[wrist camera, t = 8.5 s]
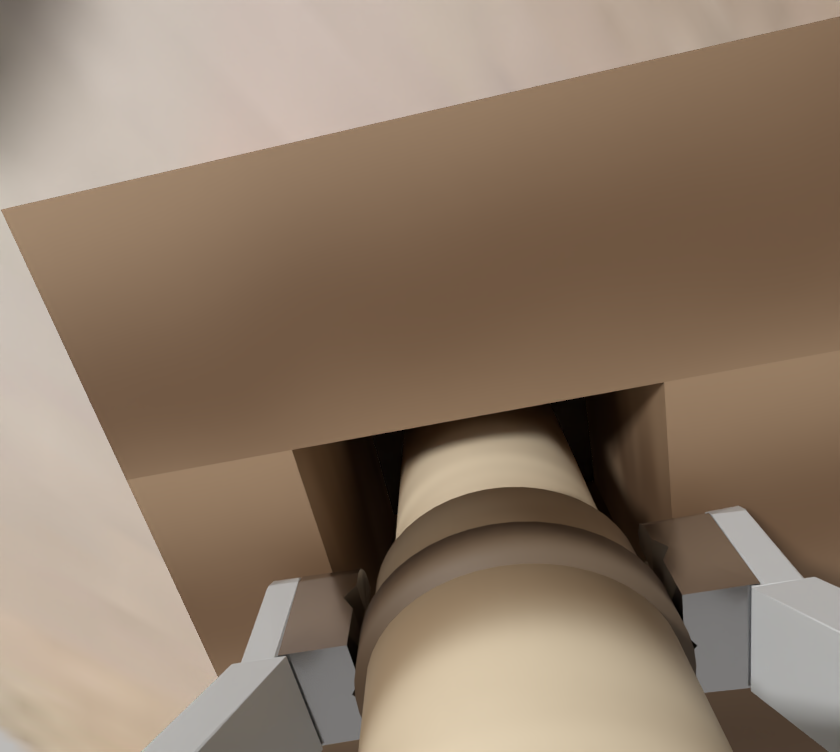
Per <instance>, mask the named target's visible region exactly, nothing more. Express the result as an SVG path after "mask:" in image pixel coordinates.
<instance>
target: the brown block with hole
mask: <svg viewBox="0 0 840 752" xmlns="http://www.w3.org/2000/svg"><path fill="white" fill-rule="evenodd" d="M1 211H2V213H3V215H4V217H5V219H6V222H7V224H8V226H9V228H10V230H11V232H12V234H13V237H14V239H15V241H16V243H17V245H18V247H19V250H20V252H21V254H22V256H23V258H24V260H25V262H26V265H27V267H28V269H29V271H30V273H31V275H32V277H33V280H34V282H35V284H36V286H37V288H38V290H39V293H40V295H41V297H42V299H43V301H44V303H45V305H46V308H47V310H48V312H49V314H50V316H51V318H52V321H53V323H54V325H55V327H56V329H57V331H58V333H59V336H60V338H61V340H62V342H63V344H64V346H65V349H66V351H67V353H68V355H69V357H70V359H71V361H72V364H73V366H74V368H75V370H76V372H77V374H78V377H79V379H80V381H81V383H82V385H83V387H84V389H85V392H86V394H87V396H88V398H89V400H90V402H91V404H92V407H93V409H94V411H95V413H96V415H97V417H98V420H99V422H100V424H101V426H102V428H103V430H104V432H105V435H106V437H107V439H108V441H109V443H110V445H111V448H112V450H113V452H114V454H115V456H116V458H117V460H118V463H119V465H120V467H121V469H122V471H123V473H124V476H125V478H126V480H127V482H128V484H129V486H130V488H131V491H132V493H133V495H134V497H135V499H136V501H137V504H138V506H139V508H140V510H141V512H142V514H143V516H144V519H145V521H146V523H147V525H148V527H149V529H150V531H151V534H152V536H153V538H154V540H155V542H156V544H157V547H158V549H159V551H160V553H161V555H162V557H163V559H164V562H165V564H166V566H167V568H168V570H169V572H170V575H171V577H172V579H173V581H174V583H175V585H176V587H177V590H178V592H179V594H180V596H181V598H182V600H183V603H184V605H185V607H186V609H187V611H188V613H189V615H190V618H191V620H192V622H193V624H194V626H195V628H196V631H197V633H198V635H199V637H200V639H201V641H202V643H203V646H204V648H205V650H206V652H207V654H208V656H209V658H210V661H211V663H212V665H213V667H214V669H215V671H216V674H217V676H218V677H219V676H220V675H221V674H222V673H223V672H224V671H225V670H226V669H227V668H228V667H229V666H230V665H231V664H235V663H241V661H242V658H243V655H244V653H245V650H246V647H247V644H248V641H249V638H250V636H251V633H252V630H253V627H254V624H255V621H256V619H257V616H258V613H259V610H260V607H261V604H262V602H263V599H264V596H265V593H266V590H267V588H268V586H269V585H270V584H271V583H272V582H273V581H279V580H285V579H292V578H302V577H304V576H311V575H318V574H325V573H333V572H340V571H347V570H354V569H362V570H364V571H365V573H366V575H367V578H368V581H369V584H370V587H371V590H370V599H369V603H370V602H371V600H372V598H373V596H374V595H375V593H376V584H377V578H378V574H379V571H380V567H381V565H382V563H383V560H384V558H385V556H386V554H387V552H388V551H389V549H390V548H391V546H392V545H393V543H394V542H395V540H396V529H397V515H398V514H395V515H394V513H393V509H392V506H391V502H390V498H389V495H388V491H387V487H386V484H385V480H384V476H383V472H382V469H381V465H380V461H379V458H378V454H377V450H376V447H375V443H374V439H373V436H372V435H377V434H382V433H388V432H393V431H399V430H404V429H410V428H415V427H421V426H426V425H432V424H437V423H443V422H448V421H454V420H459V419H465V418H470V417H476V416H481V415H487V414H492V413H498V412H503V411H509V410H514V409H520V408H525V407H531V406H536V405H542V404H547V403H553V402H558V401H564V400H569V399H575V398H580V397H585V404H586V413H587V421H588V430H589V439H590V447H591V456H592V465H593V473H594V481H590V482H585V483H586V485H587V487H588V489H589V492H590V494H591V496H592V498H593V501H594V503H595V505H596V507H597V510H598V511H600V512H601V513H603V514H604V515H606V516H607V517H608V518H609V519H610V520H611V521H612V522H613V523H615V524H616V525H617V526H618V527H619V528H620V530H621V531H622V532H623V533H624V535H625V536H626V537H627V538H628V540H629V542H630V544H631V545H632V547H633V549H634V551H635V553H636V555H637V556H638V557H639V558H640V559H641V560H642V561H643V562H644V563H645V562H646V558H645V556H644V554H643V552H642V550H641V548H640V546H639V536H638V529H639V524H642V523H648V522H654V521H660V520H666V519H672V518H678V517H684V516H690V515H696V514H702V513H705V512H708V511H713V510H718V509H724V508H729V507H735V506H740V507H742V508H744V509H746V510H747V512H748V513H749V514H750V515H751V516H752V517H753V519H754V520H755V521H756V522H757V523H758V525H759V526H760V527H761V528H762V529H763V530H764V532H765V533H766V534H767V535H768V536H769V538H770V539H771V540H772V541H773V542H774V543H775V545H776V546H777V547H778V548H779V549H780V550H781V552H782V553H783V554H784V555H785V556H786V558H787V559H788V560H789V561H790V562H791V563H792V565H793V566H794V567H795V568H796V569H797V571H798V572H799V573H800V574H801V575H802V576H803V578H810V577H817V578H819V579H821V580H823V581H825V582H828V583H830V584H832V585H834V586H837V587H839V588H840V17H836V18H832V19H827V20H823V21H819V22H814V23H810V24H805V25H801V26H797V27H792V28H788V29H784V30H779V31H775V32H771V33H766V34H762V35H758V36H753V37H749V38H745V39H740V40H736V41H732V42H727V43H723V44H719V45H714V46H710V47H706V48H701V49H697V50H693V51H688V52H684V53H680V54H675V55H671V56H667V57H662V58H658V59H654V60H649V61H645V62H641V63H636V64H632V65H628V66H623V67H619V68H614V69H610V70H606V71H601V72H597V73H593V74H588V75H584V76H580V77H575V78H571V79H567V80H562V81H558V82H554V83H549V84H545V85H541V86H536V87H532V88H528V89H523V90H519V91H515V92H510V93H506V94H502V95H497V96H493V97H489V98H484V99H480V100H476V101H471V102H467V103H463V104H458V105H454V106H450V107H445V108H441V109H437V110H432V111H428V112H423V113H419V114H415V115H410V116H406V117H402V118H397V119H393V120H389V121H384V122H380V123H376V124H371V125H367V126H363V127H358V128H354V129H350V130H345V131H341V132H337V133H332V134H328V135H324V136H319V137H315V138H311V139H306V140H302V141H298V142H293V143H289V144H285V145H280V146H276V147H272V148H267V149H263V150H259V151H254V152H250V153H246V154H241V155H237V156H232V157H228V158H224V159H219V160H215V161H211V162H206V163H202V164H198V165H193V166H189V167H185V168H180V169H176V170H172V171H167V172H163V173H159V174H154V175H150V176H146V177H141V178H137V179H133V180H128V181H124V182H120V183H115V184H111V185H107V186H102V187H98V188H94V189H89V190H85V191H81V192H76V193H72V194H68V195H63V196H59V197H55V198H50V199H46V200H41V201H37V202H33V203H28V204H24V205H20V206H15V207H11V208H7V209H2V210H1ZM705 695H706V697H707V699H708V701H709V703H710V706H711V708H712V710H713V712H714V714H715V716H716V718H717V720H718V722H719V724H720V726H721V728H722V730H723V732H724V734H725V736H726V738H727V740H728V742H729V744H730V746H731V748H732V750H733V752H828V751H827V750H826V749H825V748H823V747H822V746H821V745H819V744H818V743H817V742H816V741H814V740H813V739H812V738H810V737H809V736H808V735H807V734H805V733H804V732H803V731H801V730H800V729H799V728H798V727H796V726H795V725H794V724H792V723H791V722H790V721H789V720H787V719H786V718H785V717H784V716H782V715H781V714H780V713H778V712H777V711H776V710H775V709H773V708H772V707H771V706H769V705H768V704H767V703H766V702H764V701H763V700H762V699H760V698H759V697H758V696H757V695H755V694H754V693H753V692H751V688H745V689H735V690H726V691H716V692H707V693H705ZM359 740H360V739H359ZM359 740H353V741H347V742H341V743H335V744H329V745H323V746H322V747H323V750H322V752H358V749H359Z"/></svg>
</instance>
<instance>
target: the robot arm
mask: <svg viewBox="0 0 840 752" xmlns="http://www.w3.org/2000/svg"><path fill="white" fill-rule="evenodd" d="M638 536H639V546H640V548H641V550H642V552H643V554H644V556H645V558H646V562H645V564H646V565H648V566H649V567H650V568H651V569H652V571H653V572H654V573H655V574H656V576H657V577H658V578H659V579H660V581H661V582H662V583H663V585H664V587H665V589H666V590H667V592H668V594H669V596H670V598H671V600H672V602H673V604H674V605H675V607H676V609H677V611H678V613H679V615H680V617H681V619H682V621H683V623H684V625H685V627H686V629H687V631H688V632H689V635H690V638H691V641H692V644H693V647H694V651H695V659H696V677H697V679H698V681H699V683H700V685H701V687H702V689H703V691H704V693H707V692H716V691H726V690H735V689H745V688H751V692H753V693H754V694H755V695H757V696H758V697H759V698H760V699H762V700H763V701H764V702H766V703H767V704H768V705H769V706H771V707H772V708H773V709H775V710H776V711H777V712H778V713H780V714H781V715H782V716H784V717H785V718H786V719H787V720H789V721H790V722H791V723H792V724H794V725H795V726H796V727H798V728H799V729H800V730H801V731H803V732H804V733H805V734H807V735H808V736H809V737H810V738H812V739H813V740H814V741H816V742H817V743H818V744H819V745H821V746H822V747H823V748H825V749H826V750H827V751H828V752H840V588H839V587H837V586H834V585H832V584H830V583H828V582H825V581H823V580H821V579H819V578H817V577H810V578H803V576H802V575H801V574H800V573H799V572H798V571H797V569H796V568H795V567H794V566H793V565H792V563H791V562H790V561H789V560H788V559H787V558H786V556H785V555H784V554H783V553H782V552H781V550H780V549H779V548H778V547H777V546H776V545H775V543H774V542H773V541H772V540H771V539H770V538H769V536H768V535H767V534H766V533H765V532H764V530H763V529H762V528H761V527H760V526H759V525H758V523H757V522H756V521H755V520H754V519H753V517H752V516H751V515H750V514H749V513H748V512H747V510H746V509H744V508H742V507H740V506H735V507H729V508H724V509H718V510H713V511H708V512H705V513H702V514H696V515H690V516H684V517H678V518H672V519H666V520H660V521H654V522H648V523H642V524H639V529H638ZM370 590H371V587H370V584H369V581H368V578H367V575H366V573H365V571H364V570H362V569H354V570H347V571H340V572H333V573H325V574H318V575H311V576H304V577H302V578H292V579H285V580H279V581H273V582H272V583H271V584H270V585H269V586H268V588H267V590H266V593H265V596H264V599H263V602H262V604H261V607H260V610H259V613H258V616H257V619H256V621H255V624H254V627H253V630H252V633H251V636H250V638H249V641H248V644H247V647H246V650H245V653H244V655H243V658H242V661H241V663H235V664H231V665H230V666H229V667H228V668H227V669H226V670H225V671H224V672H223V673H222V674H221V675H220V676H219V677H218V678H217V679H216V680H215V681H214V682H213V683H212V684H211V685H210V686H209V687H208V688H207V689H206V690H204V691H203V692H202V693H201V694H200V695H199V696H198V697H197V698H196V699H195V700H194V701H193V702H192V703H191V704H190V705H189V706H188V707H187V708H186V709H185V710H184V711H183V712H182V713H181V714H180V715H179V716H178V717H176V718H175V719H174V720H173V721H172V722H171V723H170V724H169V725H168V726H167V727H166V728H165V729H164V730H163V731H162V732H161V733H160V734H159V735H158V736H157V737H156V738H155V739H154V740H153V741H152V742H151V743H150V744H148V745H147V746H146V747H145V748H144V749H143V750H142V751H141V752H322V750H323V747H322V746H323V745H329V744H335V743H341V742H347V741H353V740H359V739H360V731H361V721H362V718H361V716H360V713H359V710H358V706H357V702H356V698H355V686H354V679H355V669H356V661H357V653H358V646H359V638H360V630H361V626H362V623H363V619H364V616H365V613H366V611H367V608H368V606H369V604H370V603H369V599H370Z"/></svg>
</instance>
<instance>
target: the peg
mask: <svg viewBox="0 0 840 752" xmlns="http://www.w3.org/2000/svg"><path fill="white" fill-rule="evenodd" d="M354 686H355V698H356V702H357V706H358V710H359V713H360V716H361V718H362V721H361V731H360V740H359V749H358V752H733V750H732V748H731V746H730V744H729V742H728V740H727V738H726V736H725V734H724V732H723V730H722V728H721V726H720V724H719V722H718V720H717V718H716V716H715V714H714V712H713V710H712V708H711V706H710V703H709V701H708V699H707V697H706V695H705V693H704V691H703V689H702V687H701V685H700V683H699V681H698V679H697V677H696V659H695V651H694V647H693V644H692V641H691V638H690V635H689V632H688V631H687V629H686V627H685V625H684V623H683V621H682V619H681V617H680V615H679V613H678V611H677V609H676V607H675V605H674V604H673V602H672V600H671V598H670V596H669V594H668V592H667V590H666V589H665V587H664V585H663V583H662V582H661V581H660V579H659V578H658V577H657V576H656V574H655V573H654V572H653V571H652V569H651V568H650V567H649V566H648V565H646V564H645V563H644V562H643V561H642V560H641V559H640V558H639V557H638V556H637V555H636V553H635V551H634V549H633V547H632V545H631V544H630V542H629V540H628V538H627V537H626V536H625V535H624V533H623V532H622V531H621V530H620V528H619V527H618V526H617V525H616V524H615V523H613V522H612V521H611V520H610V519H609V518H608V517H607V516H606V515H604V514H603V513H601V512H600V511H598V510H597V507H596V505H595V503H594V501H593V498H592V496H591V494H590V492H589V489H588V487H587V485H586V483H585V480H584V478H583V476H582V474H581V472H580V469H579V467H578V465H577V463H576V460H575V458H574V456H573V454H572V451H571V449H570V447H569V445H568V442H567V440H566V438H565V436H564V433H563V431H562V429H561V427H560V424H559V422H558V420H557V418H556V416H555V413H554V411H553V409H552V407H551V406H550V404H549V403H547V404H542V405H536V406H531V407H525V408H520V409H514V410H509V411H503V412H498V413H492V414H487V415H481V416H476V417H470V418H465V419H459V420H454V421H448V422H443V423H437V424H432V425H426V426H421V427H415V428H410V429H404V436H403V448H402V462H401V475H400V488H399V502H398V515H397V529H396V540H395V542H394V543H393V545H392V546H391V548H390V549H389V551H388V552H387V554H386V556H385V558H384V560H383V563H382V565H381V567H380V571H379V574H378V578H377V584H376V593H375V595H374V596H373V598H372V600H371V602H370V604H369V606H368V608H367V611H366V613H365V616H364V619H363V623H362V626H361V630H360V638H359V646H358V653H357V661H356V669H355V679H354Z"/></svg>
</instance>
